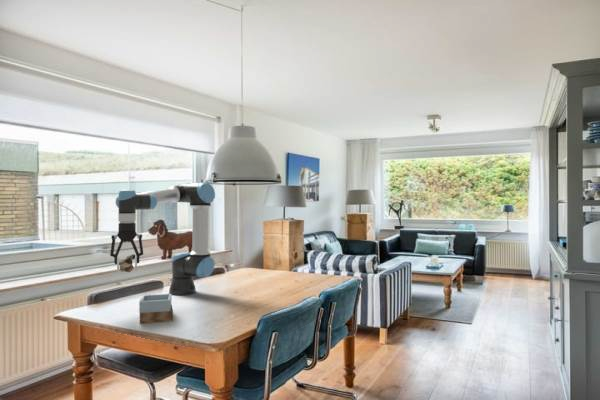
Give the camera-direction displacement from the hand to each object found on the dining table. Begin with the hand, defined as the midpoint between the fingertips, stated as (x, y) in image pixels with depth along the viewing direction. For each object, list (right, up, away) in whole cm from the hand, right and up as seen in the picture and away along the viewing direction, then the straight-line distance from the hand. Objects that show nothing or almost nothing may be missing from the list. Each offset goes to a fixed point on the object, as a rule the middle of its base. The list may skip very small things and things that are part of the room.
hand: (127, 270), depth 199 cm
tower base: (+16, -21, -6) cm, 27 cm away
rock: (0, 0, 0) cm, 1 cm away
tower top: (+16, -16, -6) cm, 24 cm away
